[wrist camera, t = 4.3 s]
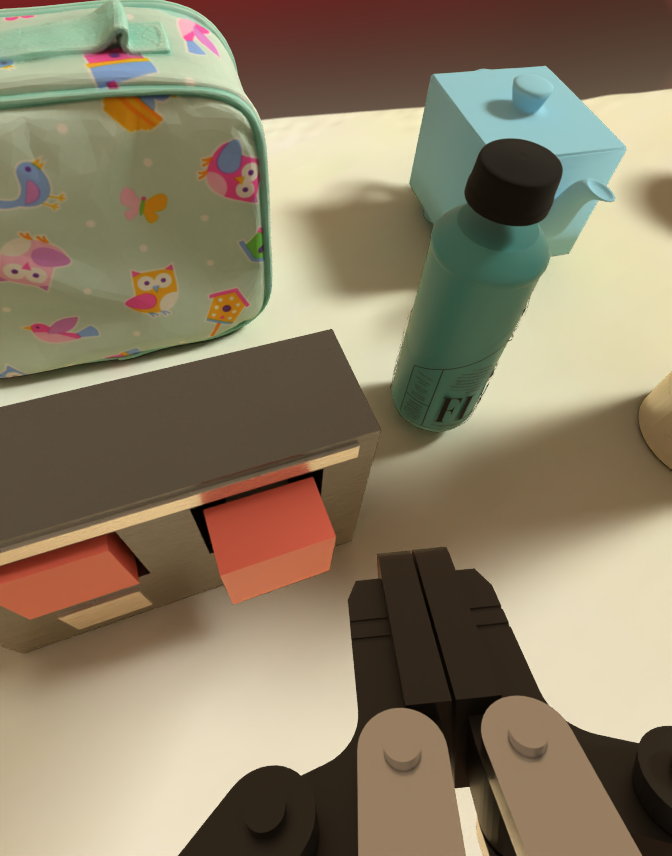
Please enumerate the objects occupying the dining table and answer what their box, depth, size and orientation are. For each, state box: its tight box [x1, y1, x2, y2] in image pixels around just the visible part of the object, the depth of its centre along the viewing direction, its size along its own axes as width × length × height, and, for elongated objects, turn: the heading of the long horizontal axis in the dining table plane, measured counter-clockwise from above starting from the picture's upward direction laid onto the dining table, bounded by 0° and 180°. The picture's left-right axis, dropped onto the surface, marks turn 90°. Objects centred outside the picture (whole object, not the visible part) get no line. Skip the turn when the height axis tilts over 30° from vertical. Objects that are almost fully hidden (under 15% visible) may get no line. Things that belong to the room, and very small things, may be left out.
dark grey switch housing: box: [0, 329, 381, 653], centre depth 27 cm, size 20×6×14 cm, turn 111°
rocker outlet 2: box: [203, 477, 336, 604], centre depth 25 cm, size 5×5×5 cm
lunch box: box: [0, 0, 272, 378], centre depth 33 cm, size 27×10×21 cm, turn 109°
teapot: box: [409, 66, 626, 257], centre depth 45 cm, size 22×11×14 cm, turn 16°
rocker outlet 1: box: [0, 532, 140, 620], centre depth 24 cm, size 5×5×5 cm
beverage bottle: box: [390, 138, 563, 432], centre depth 31 cm, size 6×7×20 cm
